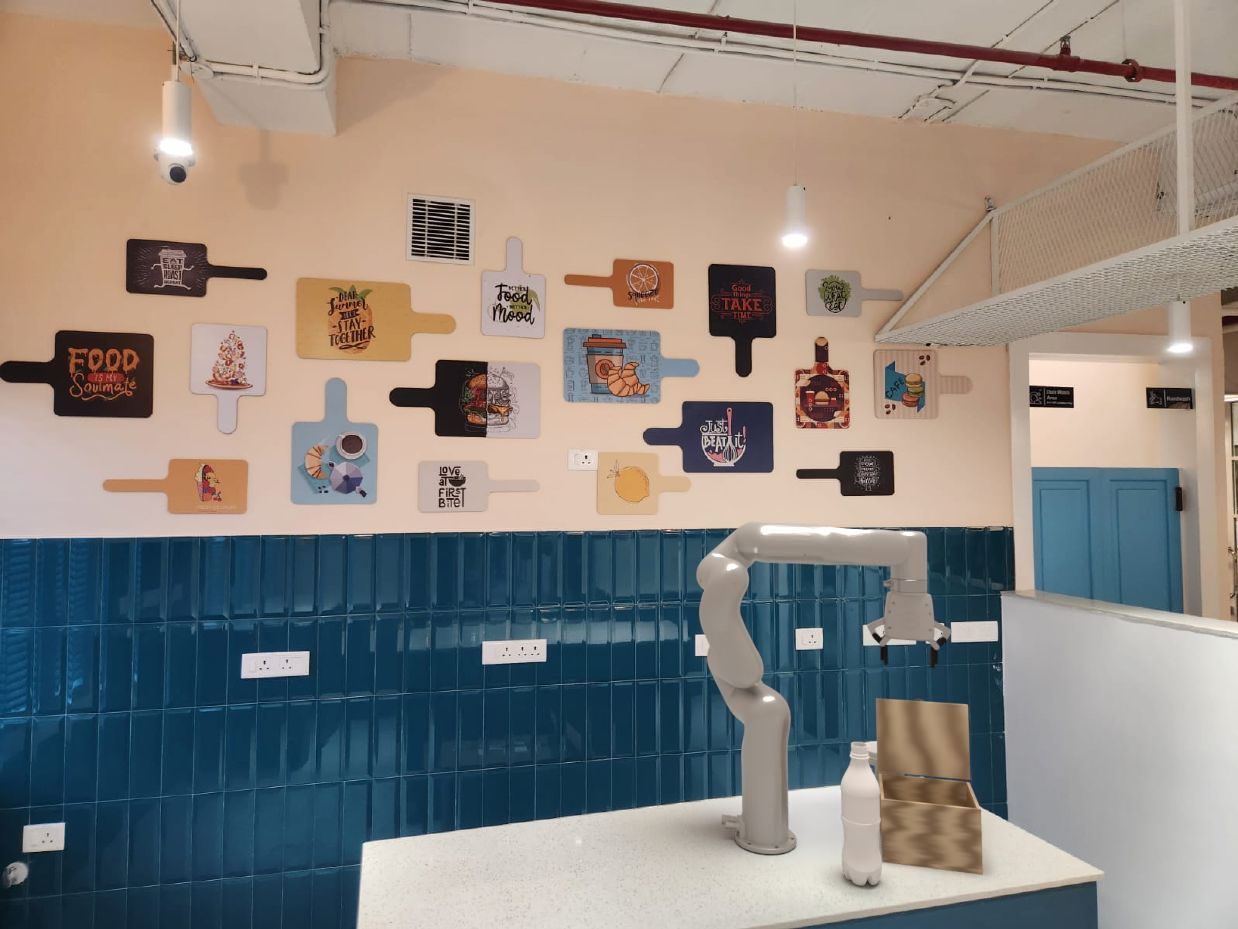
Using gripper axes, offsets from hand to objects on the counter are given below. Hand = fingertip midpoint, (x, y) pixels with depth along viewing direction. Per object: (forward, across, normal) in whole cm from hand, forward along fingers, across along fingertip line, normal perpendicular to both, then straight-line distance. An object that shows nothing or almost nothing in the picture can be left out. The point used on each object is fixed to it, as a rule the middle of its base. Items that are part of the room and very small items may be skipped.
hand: (908, 665), depth 166 cm
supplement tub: (+35, -5, +7) cm, 36 cm away
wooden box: (+35, +3, -10) cm, 36 cm away
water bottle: (+36, -11, -26) cm, 45 cm away
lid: (+15, +2, -3) cm, 15 cm away
